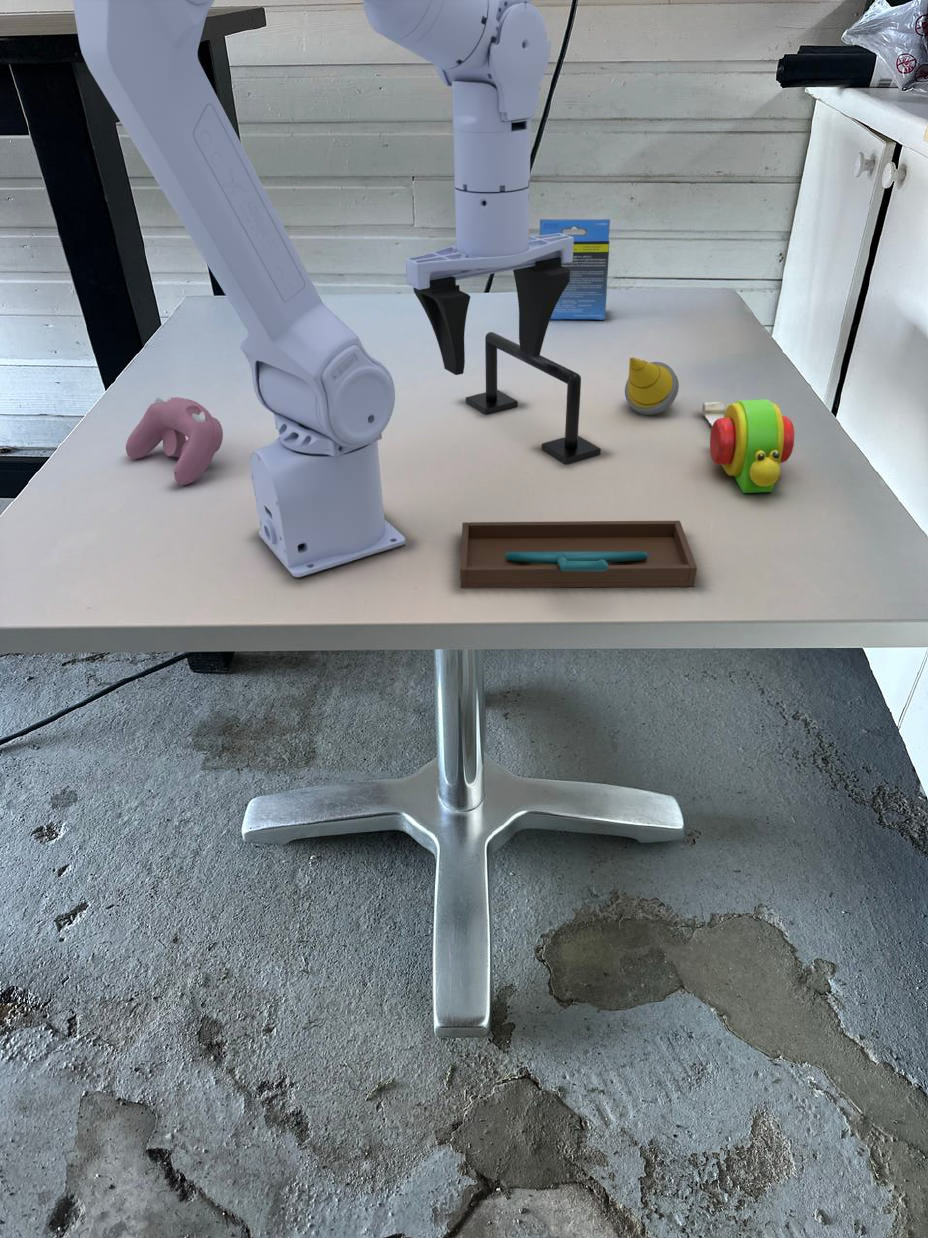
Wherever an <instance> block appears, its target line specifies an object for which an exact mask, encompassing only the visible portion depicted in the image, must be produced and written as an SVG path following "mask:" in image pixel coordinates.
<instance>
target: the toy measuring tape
mask: <svg viewBox="0 0 928 1238" xmlns="http://www.w3.org/2000/svg"><path fill="white" fill-rule="evenodd" d="M725 403H726V402H724V401H711V402H710V401H703V403H702V406H701V407H702V408H701V414H702V417H705V419H706V420H707V421H708V423H709V424H710V426H711V429H710V434H709V435H710V437H709V450H710V456H711V459H712V460H711V461H713V462H714V463H715V464H716V465H720V466H721V467H722V468H723V470H724V472H725V473H726V475H728V476H729V477H734V479H735V481H736V483H737V485H738V487H739V488H740V491H741V492H742V494H754V493H755V494H756V493H757V494H758V493H773V491H774V489H775V488H774V487H775V485H774V484H775V483H776V482H777V481H778V480H779V478H780V475H781V467H780V464H782V463H785V462H787V461H788V460H789V459H790V458H791V456H792V454H793V451H794V447H795V427H794V424H793V421H792V420H791V419H790V418H789V417H788V416H786V415H783V414H782V411H781V409H780V407H779V406H778V405H777V403H775V402H772V401H771V400H770V399H767V398H763V399H760V398H759V399H740V400H737V401H735V402H732V403H729V405H728V406H727V407H726V404H725Z"/></svg>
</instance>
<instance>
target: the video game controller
mask: <svg viewBox="0 0 928 1238" xmlns="http://www.w3.org/2000/svg"><path fill="white" fill-rule="evenodd" d="M223 438H224V430H223V427H222V424H221V422H220V420H218V418H216V417H214V416H212V414H211V413H210V412H209V410H208V409H206V408H205V406H203V405H202V404H200V403H199V402H197V401H196V400H192V399H188V398H184V397H177V396H175V397H171V396H169V397H168V396H167V397H164V398H161V397H156V398H155V401H154V402H153V403H151V404H150V405H149V406H148V408H147V409H146V411H145V412H144V415H143V416H142V418H141V419H140V421H139V423H137V425H136V426H135V428H134V429H133V430H132V431H131V433H130V435H129V436H128V437H127V441H126V444H125V453H126V455H127V457H129V458H130V459H132V460H139V459H142V458H144V457H146V456H147V455H148V454H150V453H151V452H152V451H153V450H154V449H155V448H156V447H157V446H158V445H159V444H161V442H162V449H163V453H164V454H165V456H167V457H172V458H178V460H177V462H176V464H175V467H174V471H173V476H174V480H175V482H176V483H177V484H178V485H180V486H187V485H189V484H192V483H194V482H195V481H197V480H198V479H199V478H200V477H201V476H202V475H203V474H204V473H205V472H206V470H207V469H208V467H209V466H210V464H211V462H212V460H213V459H214V456H215V454H216V453H217V452H218V451H219V450H220V448H221V446H222V443H223V440H224V439H223Z"/></svg>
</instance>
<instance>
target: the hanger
mask: <svg viewBox="0 0 928 1238" xmlns="http://www.w3.org/2000/svg"><path fill="white" fill-rule="evenodd" d="M505 557H506V559H507V560H508V561H516V562H530V563H544V564H558V565H559V567H560V568H561V570H562V571H606V570H607V569H608V563H607V562H628V561H645V560H646V559H647V558H648V554H647V553H646V552H644V551H610V552H508V553H506V555H505Z"/></svg>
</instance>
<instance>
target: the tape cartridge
mask: <svg viewBox="0 0 928 1238" xmlns="http://www.w3.org/2000/svg"><path fill="white" fill-rule="evenodd" d="M610 224H611V219H609V218H606V219H605V218H604V219H603V218H602V219H596V218H595V219H592V218H591V219H590V218H589V219H578V218H575V219H574V218H573V219H566V218H565V219H564V218H563V219H547V218H544V219H539V235H549V234H557V233H561V234H564V233H563V232H564V231H565V230H566V231H567V230H572V228H574V227H575V228H576V229H577V230H584V232H585V233H578V234H575V233H573V234H572V233H570V234H564V235H568V236H571V237H573V238H574V244H573V261H572V262H568V263H561V266H563V267H566V268H568V269H570V282H569V283H568V285H567V287H566V288H565V290H564V291H563V293H562V295H561V297H560V298H559V300H558V302H557V304H556V306H555V309H554V311H553V313H552V316H551V318H550V320H594V321H595V320H596V321H597V320H599V321H603V320H605V318H606V311H607V309H606V308H607V298H608V297H607V295H608V275H609V261H610V260H609V259H610V226H611V225H610Z"/></svg>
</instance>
